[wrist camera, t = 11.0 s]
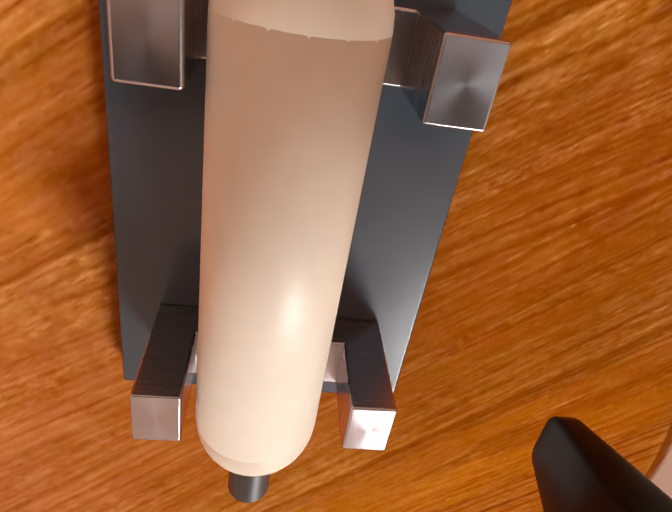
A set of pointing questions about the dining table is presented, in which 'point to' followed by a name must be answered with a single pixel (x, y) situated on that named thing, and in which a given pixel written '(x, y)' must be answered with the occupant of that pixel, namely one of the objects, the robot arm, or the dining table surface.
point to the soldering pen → (279, 216)
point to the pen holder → (372, 215)
